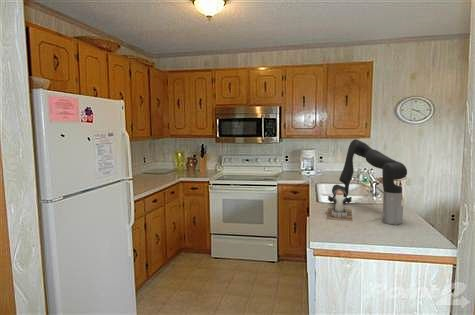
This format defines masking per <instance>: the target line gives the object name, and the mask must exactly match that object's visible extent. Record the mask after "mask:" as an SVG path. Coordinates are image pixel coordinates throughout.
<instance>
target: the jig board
mask: <svg viewBox="0 0 475 315" xmlns="http://www.w3.org/2000/svg"><path fill="white" fill-rule="evenodd" d="M334 209H335V208H330V207H329V208H327V213H326V218H325V220H334V221H345V222H346V221H347V222H353V214H352V209H344V208H343V210H346V211H347V217H346V218H335V217H333V216H332V210H334Z"/></svg>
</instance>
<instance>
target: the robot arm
mask: <svg viewBox="0 0 475 315" xmlns="http://www.w3.org/2000/svg"><path fill="white" fill-rule="evenodd" d="M354 155H357V156H359V157H362V158H364V159H365V161H366V162H367V163H368V164H369V165H371V166H372V167H373V168H374V167H375V168H376V169H380V170H382V188H383V191H382V192H383V196H382V222H383V224H388V225H394V226H397V225H402V224H403V221H404V220H403V218H404V217H403V216H404V206H403V205H402V200H403V195H402V194H403V188H402V187H401V186H400V185H397V184H395V182H394V181H395V180H403V179H404V178H406V177H407V174H408V169H407V167H406V165H405V164H404V163H402V162H400V161H397V160H395V159H392V158H391V157H389V156H387V155H385V154H384V153H382V152H381V151H379V150H377V149H373V148H371V147H370V145H368V144H367V143H365V142H363V141H361V140H359V139H356V138H355V139H353V140H352V141H351V142H350V144H349V146H348V149H347V154H346V157H345V161H344V164H343V165H344V166H343V169H342V171H341V174H340V176H339V182H341V183H342V184H344V186H343V185H340V184H338V183H337V184H334V185H333V186H332V188H331V193H332V196H331V195H328V196H327V198H328V199H327V200H328V201H329V203H333V204H335V205H336V192H337V191H339V190H340V191H342V192H343V193H344V200H343V205H345V204H350V203H352V201H353V199H352V196H349V191H350V190H349V188H350V183H351V181H352V178H353V176H354V171H355V170H354V157H355V156H354ZM348 196H349V197H348Z"/></svg>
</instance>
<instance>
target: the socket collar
mask: <svg viewBox="0 0 475 315" xmlns="http://www.w3.org/2000/svg"><path fill="white" fill-rule="evenodd" d="M333 209H334V210H332V216H333V217H335V218H346V217H347V211H346V210H343V212H335V208H333Z"/></svg>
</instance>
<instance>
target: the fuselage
mask: <svg viewBox="0 0 475 315" xmlns="http://www.w3.org/2000/svg"><path fill="white" fill-rule="evenodd" d="M343 200H344V193H343V192H342V191H340V190H339V191H337V192H336V204H335V205H334V206H335V208H334V209H335V212H343V209H344V204H343Z"/></svg>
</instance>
